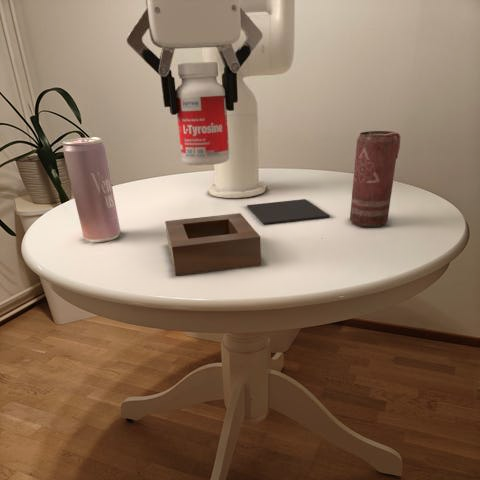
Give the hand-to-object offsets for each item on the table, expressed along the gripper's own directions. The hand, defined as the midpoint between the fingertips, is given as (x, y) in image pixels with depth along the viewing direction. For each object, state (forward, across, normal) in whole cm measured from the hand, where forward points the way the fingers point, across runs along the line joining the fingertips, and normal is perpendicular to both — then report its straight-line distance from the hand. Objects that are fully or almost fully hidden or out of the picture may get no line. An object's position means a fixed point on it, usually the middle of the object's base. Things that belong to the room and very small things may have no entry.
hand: (201, 110), depth 52 cm
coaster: (+19, -17, -16) cm, 30 cm away
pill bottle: (+6, 0, 0) cm, 6 cm away
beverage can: (+19, +16, -13) cm, 28 cm away
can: (+19, -28, -5) cm, 34 cm away
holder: (+19, 0, +1) cm, 19 cm away
